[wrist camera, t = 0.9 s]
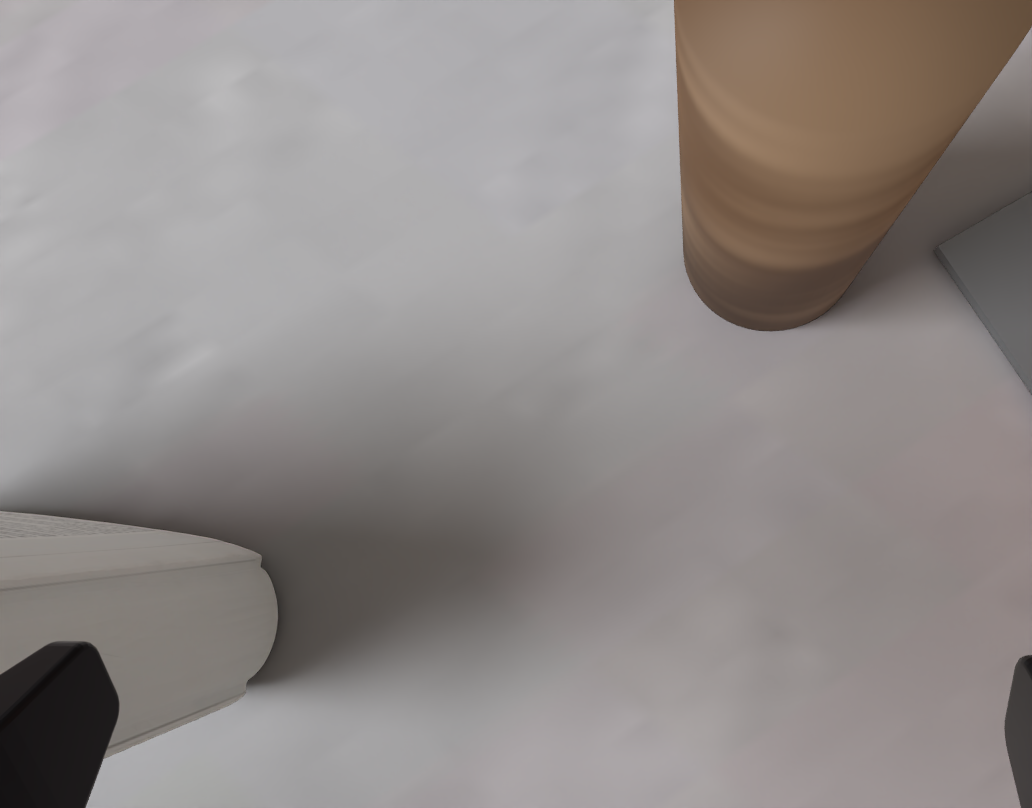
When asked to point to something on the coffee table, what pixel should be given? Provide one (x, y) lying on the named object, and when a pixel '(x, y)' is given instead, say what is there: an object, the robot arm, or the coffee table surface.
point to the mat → (998, 278)
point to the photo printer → (138, 613)
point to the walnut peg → (817, 135)
